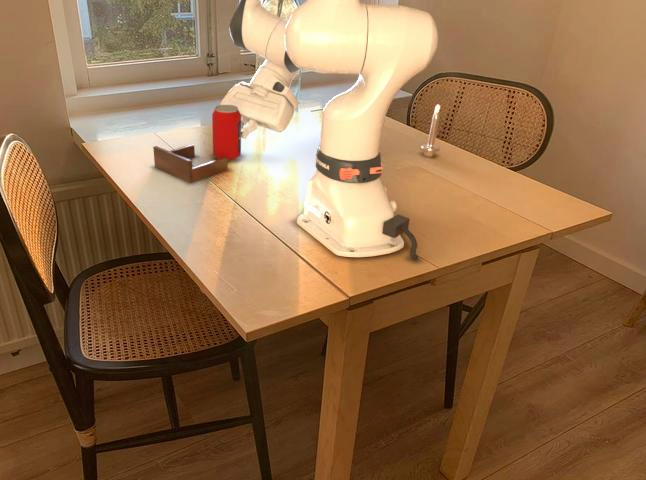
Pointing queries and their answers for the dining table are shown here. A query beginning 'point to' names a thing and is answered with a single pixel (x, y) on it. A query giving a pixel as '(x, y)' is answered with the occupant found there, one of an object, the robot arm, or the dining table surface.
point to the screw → (432, 135)
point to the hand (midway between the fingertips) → (239, 136)
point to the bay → (186, 164)
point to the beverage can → (226, 132)
